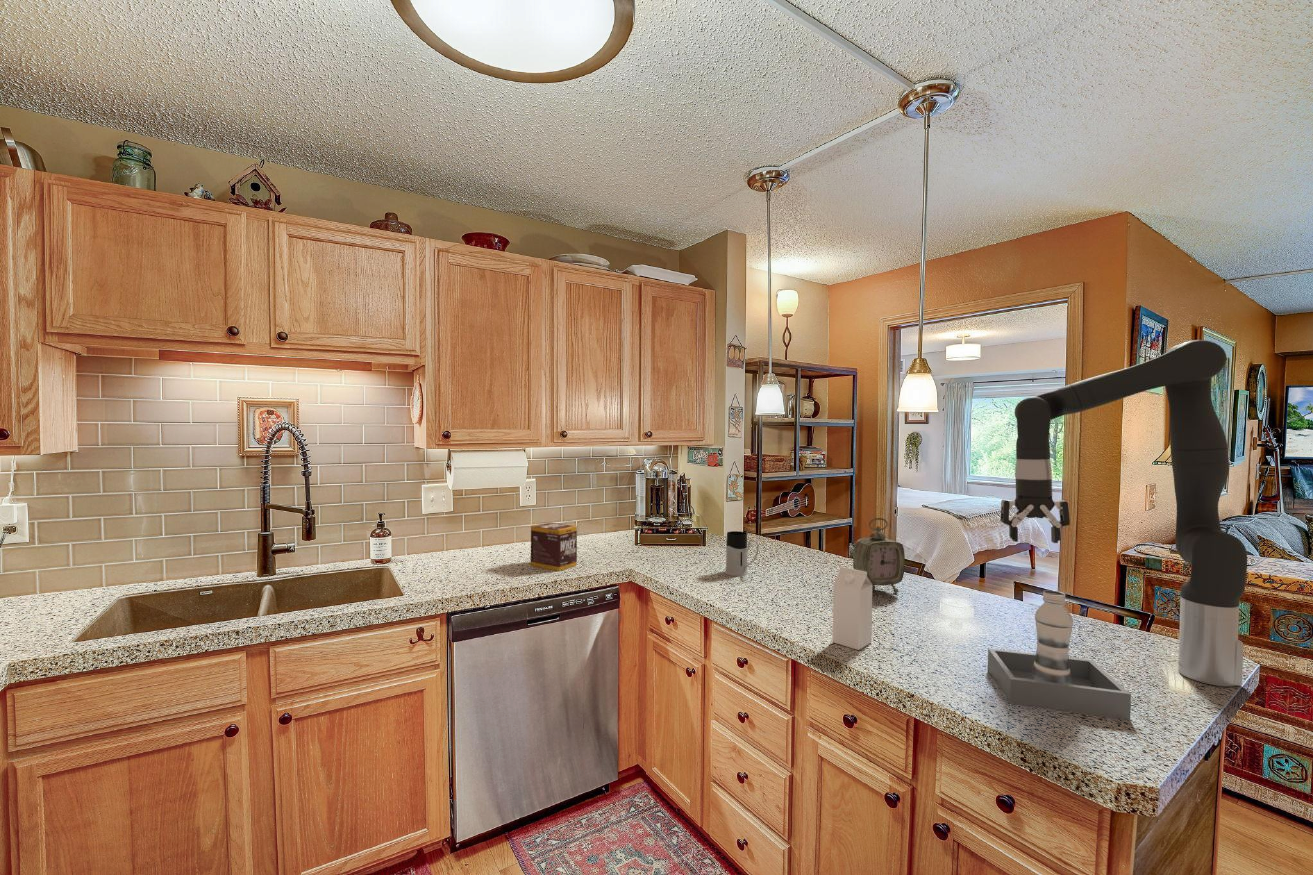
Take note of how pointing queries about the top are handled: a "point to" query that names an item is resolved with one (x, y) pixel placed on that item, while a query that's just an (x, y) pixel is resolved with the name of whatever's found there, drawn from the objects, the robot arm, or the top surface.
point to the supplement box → (554, 546)
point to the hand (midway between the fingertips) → (1034, 541)
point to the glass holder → (737, 553)
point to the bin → (1059, 686)
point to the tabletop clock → (879, 558)
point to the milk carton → (852, 608)
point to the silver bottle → (1053, 639)
